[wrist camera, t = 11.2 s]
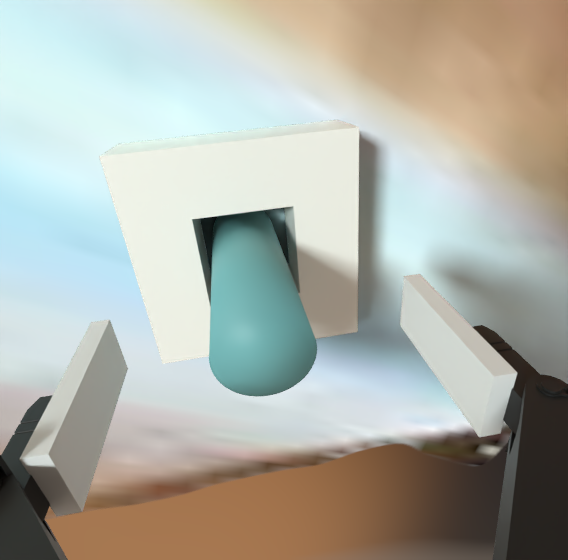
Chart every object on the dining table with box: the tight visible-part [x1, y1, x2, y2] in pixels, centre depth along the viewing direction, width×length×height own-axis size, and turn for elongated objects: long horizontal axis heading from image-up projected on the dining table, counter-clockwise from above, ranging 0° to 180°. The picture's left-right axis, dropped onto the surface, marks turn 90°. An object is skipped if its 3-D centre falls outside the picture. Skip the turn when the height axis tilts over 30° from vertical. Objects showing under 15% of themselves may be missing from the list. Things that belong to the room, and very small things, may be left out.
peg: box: [209, 210, 317, 396], centre depth 22 cm, size 4×4×14 cm
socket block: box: [99, 120, 359, 364], centre depth 26 cm, size 14×14×4 cm
